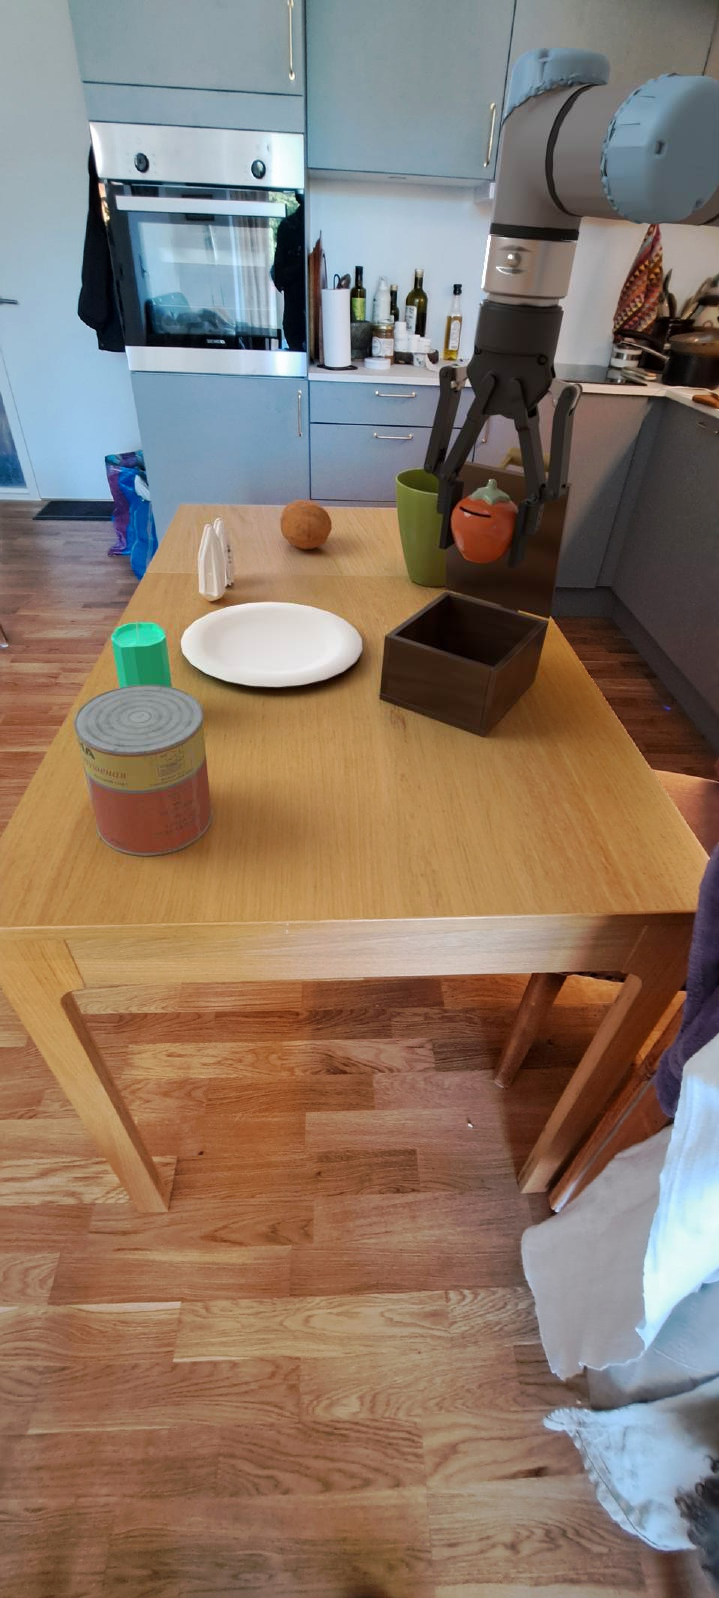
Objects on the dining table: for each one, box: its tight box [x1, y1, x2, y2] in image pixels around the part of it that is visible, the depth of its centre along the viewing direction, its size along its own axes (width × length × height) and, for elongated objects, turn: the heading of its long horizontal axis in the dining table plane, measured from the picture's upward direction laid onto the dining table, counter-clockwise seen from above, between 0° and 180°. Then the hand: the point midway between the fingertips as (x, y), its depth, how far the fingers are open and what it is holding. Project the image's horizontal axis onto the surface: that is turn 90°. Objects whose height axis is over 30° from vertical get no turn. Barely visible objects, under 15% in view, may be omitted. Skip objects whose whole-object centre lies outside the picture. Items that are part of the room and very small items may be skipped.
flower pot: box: [395, 467, 446, 588], centre depth 121 cm, size 15×15×16 cm
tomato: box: [451, 479, 518, 563], centre depth 77 cm, size 7×7×8 cm
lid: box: [444, 446, 573, 620], centre depth 92 cm, size 18×15×10 cm
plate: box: [180, 601, 363, 689], centre depth 102 cm, size 25×25×2 cm
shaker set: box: [197, 517, 235, 602], centre depth 113 cm, size 12×4×11 cm, turn 177°
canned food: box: [73, 685, 213, 857], centre depth 70 cm, size 11×11×12 cm
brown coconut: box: [279, 499, 333, 550], centre depth 132 cm, size 9×11×8 cm
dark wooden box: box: [379, 590, 550, 738], centre depth 94 cm, size 17×15×9 cm
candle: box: [110, 620, 173, 688], centre depth 84 cm, size 6×6×12 cm
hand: (480, 553), depth 79 cm, fingers closed on tomato, 7 cm apart
